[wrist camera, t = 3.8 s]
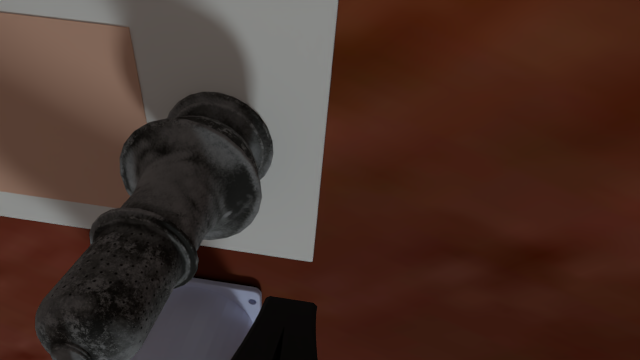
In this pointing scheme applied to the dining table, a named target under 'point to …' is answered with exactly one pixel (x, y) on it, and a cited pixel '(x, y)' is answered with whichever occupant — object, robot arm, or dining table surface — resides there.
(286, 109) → the mat
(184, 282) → the dark grey chess piece
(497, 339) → the dining table surface
